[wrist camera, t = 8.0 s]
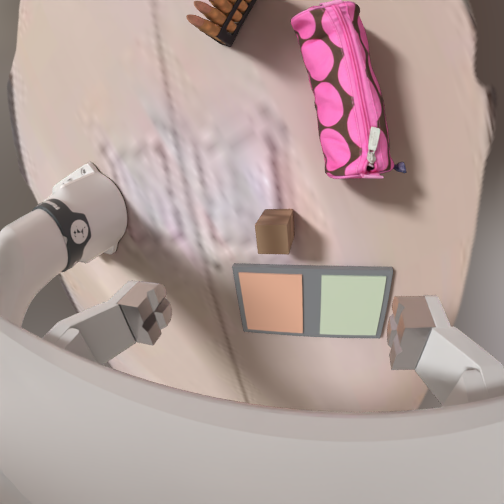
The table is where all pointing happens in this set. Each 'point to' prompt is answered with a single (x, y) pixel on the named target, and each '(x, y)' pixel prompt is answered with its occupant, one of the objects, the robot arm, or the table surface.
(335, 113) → the pencil case
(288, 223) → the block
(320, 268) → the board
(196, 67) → the table surface
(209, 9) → the ammunition clip
